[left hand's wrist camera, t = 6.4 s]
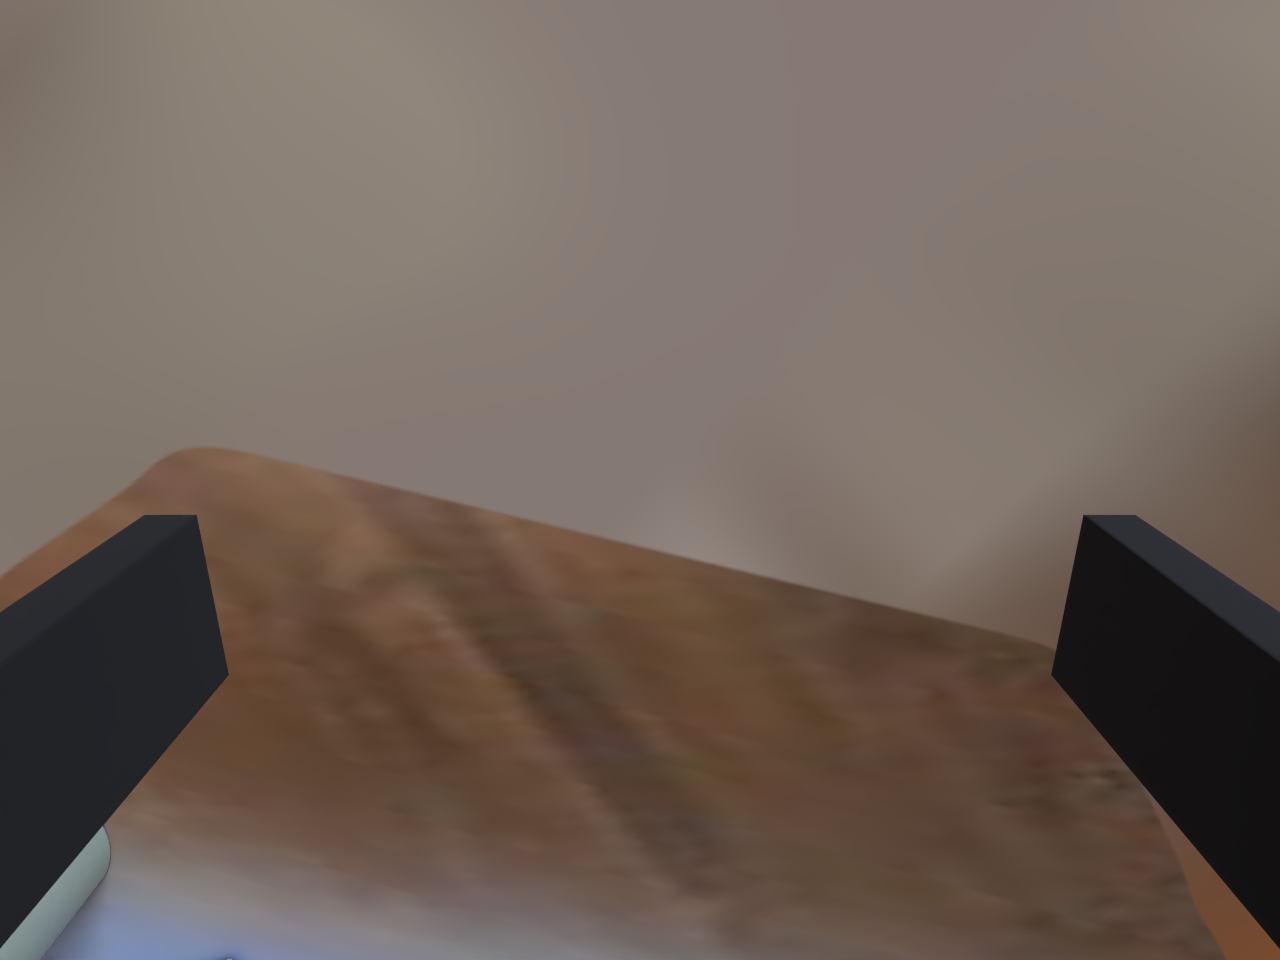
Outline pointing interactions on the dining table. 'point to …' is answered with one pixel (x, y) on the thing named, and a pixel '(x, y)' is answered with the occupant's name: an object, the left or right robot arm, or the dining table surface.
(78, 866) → the jar
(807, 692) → the dining table surface
